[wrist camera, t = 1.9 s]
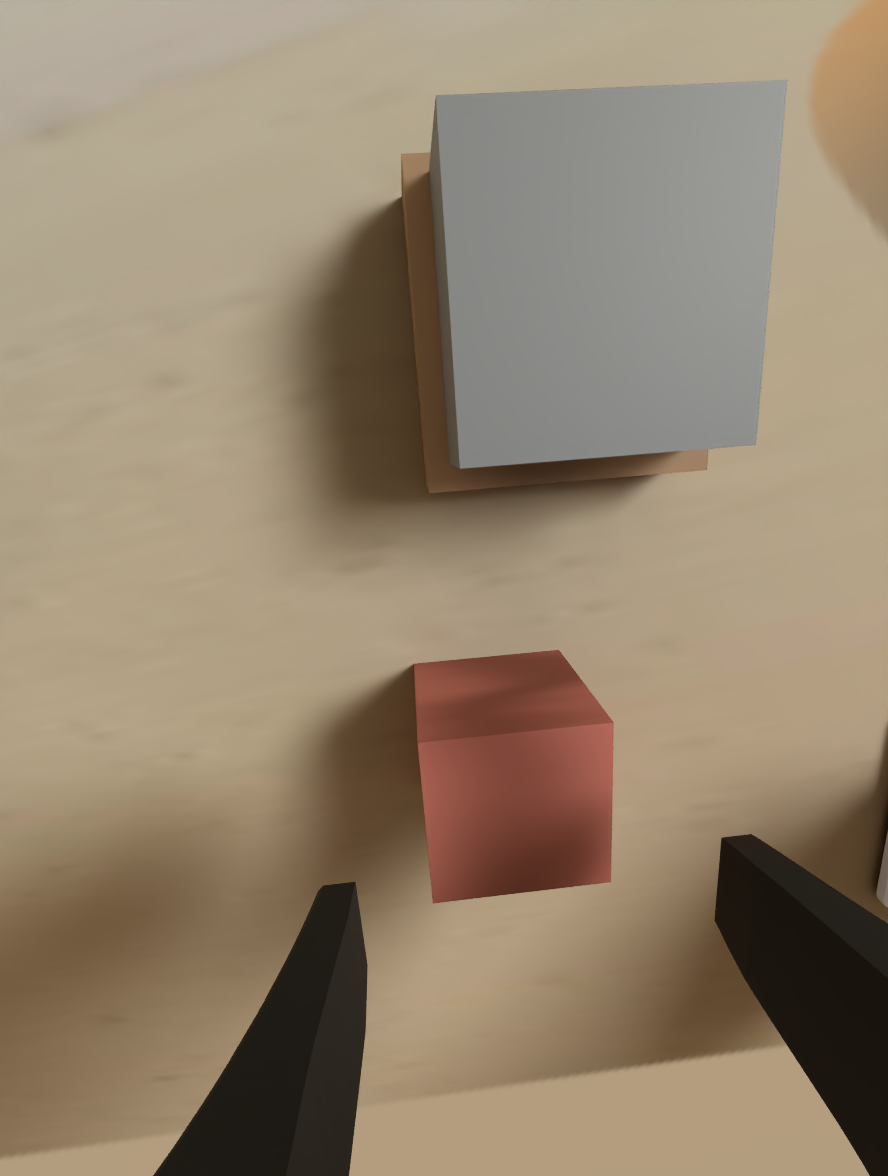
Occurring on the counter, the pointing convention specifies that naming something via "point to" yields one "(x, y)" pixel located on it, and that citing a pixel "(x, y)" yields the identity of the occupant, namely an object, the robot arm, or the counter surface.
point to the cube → (513, 776)
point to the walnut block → (432, 383)
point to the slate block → (603, 267)
